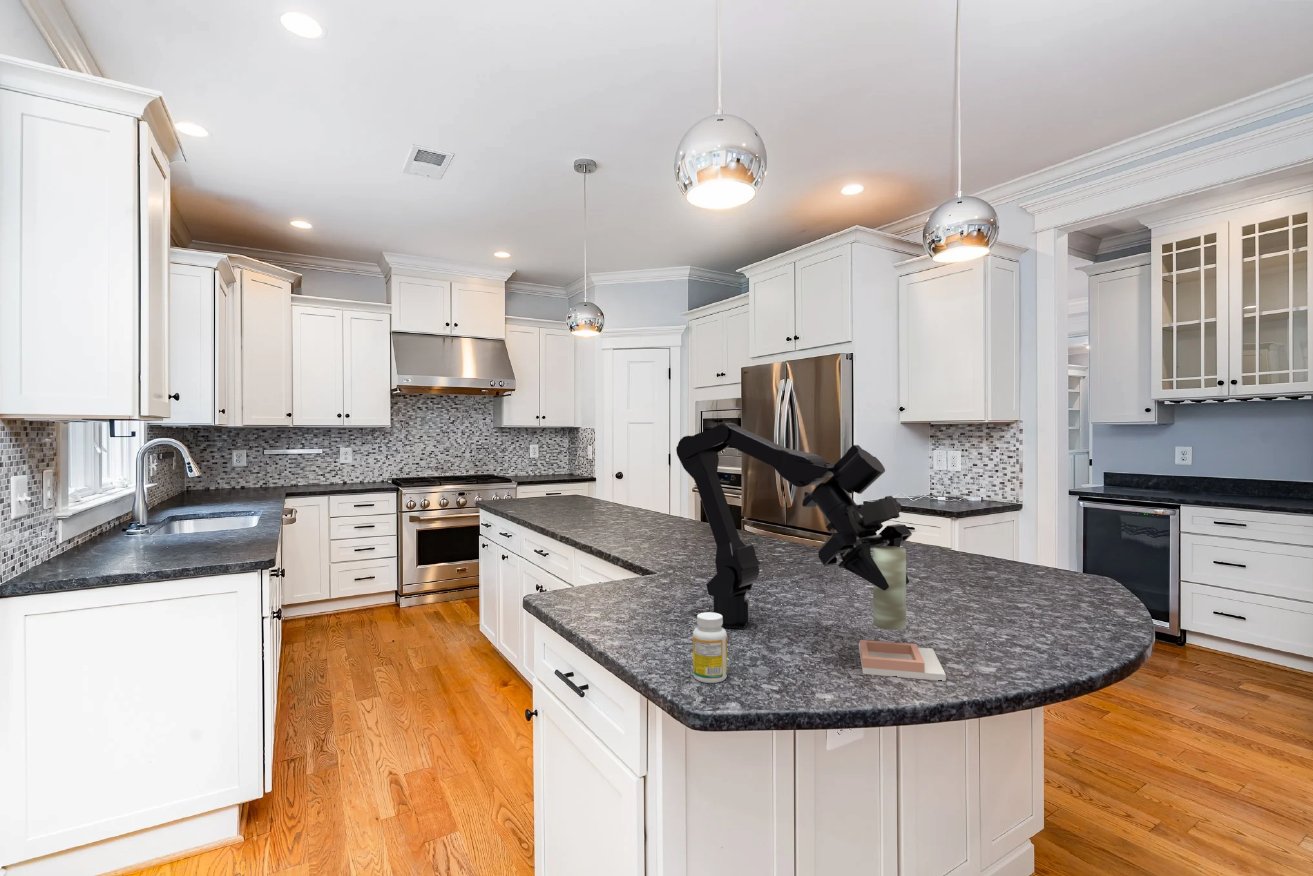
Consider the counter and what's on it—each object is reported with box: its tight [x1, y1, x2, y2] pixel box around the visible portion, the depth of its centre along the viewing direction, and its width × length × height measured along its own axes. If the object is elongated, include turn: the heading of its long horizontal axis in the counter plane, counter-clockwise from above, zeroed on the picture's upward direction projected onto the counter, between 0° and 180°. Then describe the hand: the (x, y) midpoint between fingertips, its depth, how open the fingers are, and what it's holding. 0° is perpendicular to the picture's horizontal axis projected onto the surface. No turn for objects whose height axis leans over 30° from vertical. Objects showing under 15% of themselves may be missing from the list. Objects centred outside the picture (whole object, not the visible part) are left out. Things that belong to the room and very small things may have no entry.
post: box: [872, 546, 907, 631], centre depth 101 cm, size 5×5×12 cm
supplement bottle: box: [692, 611, 728, 684], centre depth 97 cm, size 5×5×10 cm
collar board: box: [858, 639, 947, 682], centre depth 102 cm, size 12×12×2 cm
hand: (897, 586), depth 99 cm, fingers closed on post, 5 cm apart
